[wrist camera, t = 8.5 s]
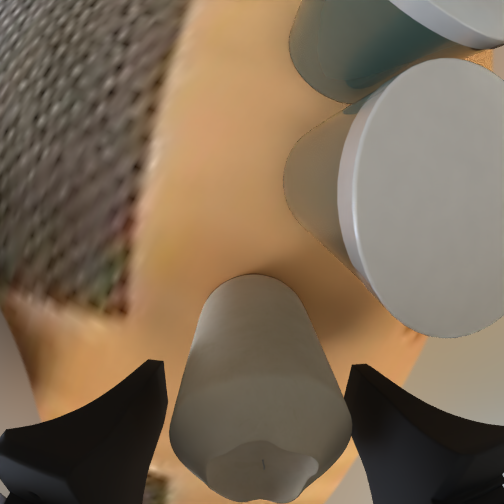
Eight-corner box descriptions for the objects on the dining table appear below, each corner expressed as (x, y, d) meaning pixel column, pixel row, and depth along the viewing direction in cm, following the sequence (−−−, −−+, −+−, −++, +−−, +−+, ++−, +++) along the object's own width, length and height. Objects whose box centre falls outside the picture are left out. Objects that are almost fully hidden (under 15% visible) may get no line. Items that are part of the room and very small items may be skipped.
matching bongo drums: (391, 246, 16) (528, 327, 6) (278, 240, 15) (332, 348, 6) (395, 18, 13) (500, -69, 3) (288, -4, 12) (329, -140, 3)
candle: (277, 253, 16) (328, 375, 6) (320, 340, 17) (383, 485, 7) (180, 302, 16) (117, 448, 6) (232, 379, 17) (227, 533, 8)
